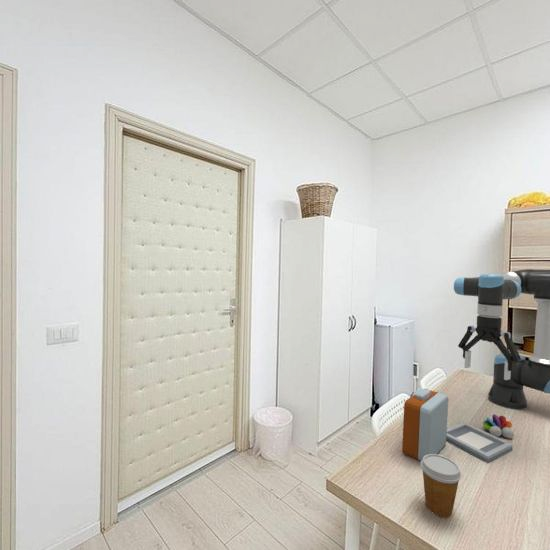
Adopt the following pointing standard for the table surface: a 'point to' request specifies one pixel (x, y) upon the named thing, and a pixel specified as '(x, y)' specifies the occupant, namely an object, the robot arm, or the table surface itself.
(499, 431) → the rainbow disc rolling toy
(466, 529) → the table surface
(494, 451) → the square gray tray
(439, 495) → the disposable coffee cup
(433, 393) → the rectangular block
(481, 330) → the robot arm
